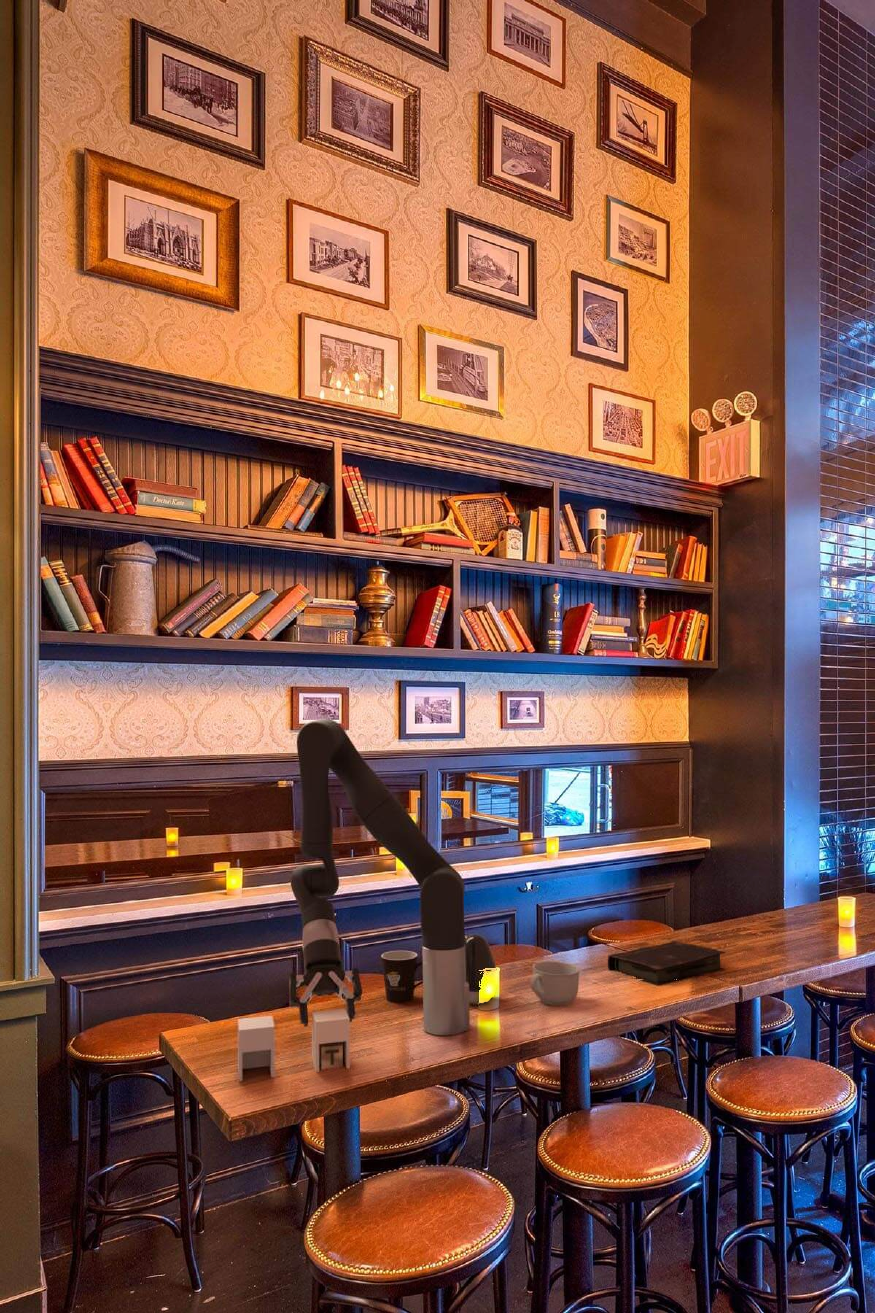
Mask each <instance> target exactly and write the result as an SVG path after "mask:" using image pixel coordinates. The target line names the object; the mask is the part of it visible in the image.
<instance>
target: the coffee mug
mask: <svg viewBox="0 0 875 1313" xmlns="http://www.w3.org/2000/svg"><path fill="white" fill-rule="evenodd" d="M380 957H381V965H382V972H383V974H382V975H383V981H384V990H385V996H386V997H385V998H386V1001H388V1002H389V1001H390V1003H394V1004H399V1003H400V1004H401V1003H407V1002H408V1001H409V1002H411V1001H413V1000H414V996H415V989H416V988H417V987H420V985H423V979H422V980H421V981H420V982H418V983H416V975H417V970H418V968H419V967H420V966H423V961H421V962H418V953H417V952H414V951H409V950H391V951H386V952H384V953H382V954H381V956H380ZM417 962H418V963H417ZM409 1002H408V1003H409Z"/></svg>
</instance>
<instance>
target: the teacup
mask: <svg viewBox="0 0 875 1313" xmlns="http://www.w3.org/2000/svg"><path fill="white" fill-rule="evenodd" d="M579 980H580V968H579V967H578V966H576V965H574V964H572V963H569V962H564V961H556V960H545V961H538V962H536V963H534V964H533V965H532V976H531V978H530V984H529V985H530V989H531V990H532V991H533V993H534V994H535V996H536V997H537V998H538V999H539V1000H540V1001H541V1002H542V1003H543V1004H546V1005H550V1006H558V1007H559V1006H560V1007H561V1006H566V1005H569V1004H570V1003H571V1002H573V1001H574V1000H575V999H576V998H577V997H578V992H579Z"/></svg>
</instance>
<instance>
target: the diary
mask: <svg viewBox="0 0 875 1313" xmlns="http://www.w3.org/2000/svg"><path fill="white" fill-rule="evenodd" d="M724 954H726V952H725V951H722V950H719V949H715V948H710V947H707V946H702V945H697V944H692V943H685V942H679V941H675V940H674V941H671V942H667V943H662V944H659V945H653V946H646V947H641V948H637V949H633V950H628V951H625V952H619V953H612V954H608V956H607V970H608V971H615V972H616V971H618V972H619V973H620V972H621V973H620V974H623V975H626V976H630V977H633V976H634V977H636V978H633V979H635V980H637V979H643V980H640V981H641V982H643V983H647V984H650V985H654V986H663V985H664V986H665V985H667V984H668V983H669V984H672V983H671V982H673V983H677V982H680V981H681V982H682V981H685V980H688V979H692V978H696V977H697V978H699V977H701V976H704V975H705V974H711V973H712V974H713V973H717V972H722V971H726V968H722V967H721V966H722V964H721V955H724ZM676 979H677V980H676ZM684 979H685V980H684ZM669 984H668V985H669Z"/></svg>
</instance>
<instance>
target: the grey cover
mask: <svg viewBox="0 0 875 1313" xmlns="http://www.w3.org/2000/svg"><path fill="white" fill-rule="evenodd" d="M275 1030H276V1029H275V1022H274V1018H273V1015H266V1016H257V1017H246V1018H238V1019H237V1076H238V1082H243V1070H245V1069H246V1070H247V1069H255V1068H262V1067H269V1072H270V1078H275V1071H276V1070H275V1069H276V1068H275V1065H276V1064H275V1062H276V1061H275V1056H276V1055H275V1054H276V1052H275V1048H276V1047H275V1044H276V1043H275V1039H276V1038H275V1037H276V1035H275Z"/></svg>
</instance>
